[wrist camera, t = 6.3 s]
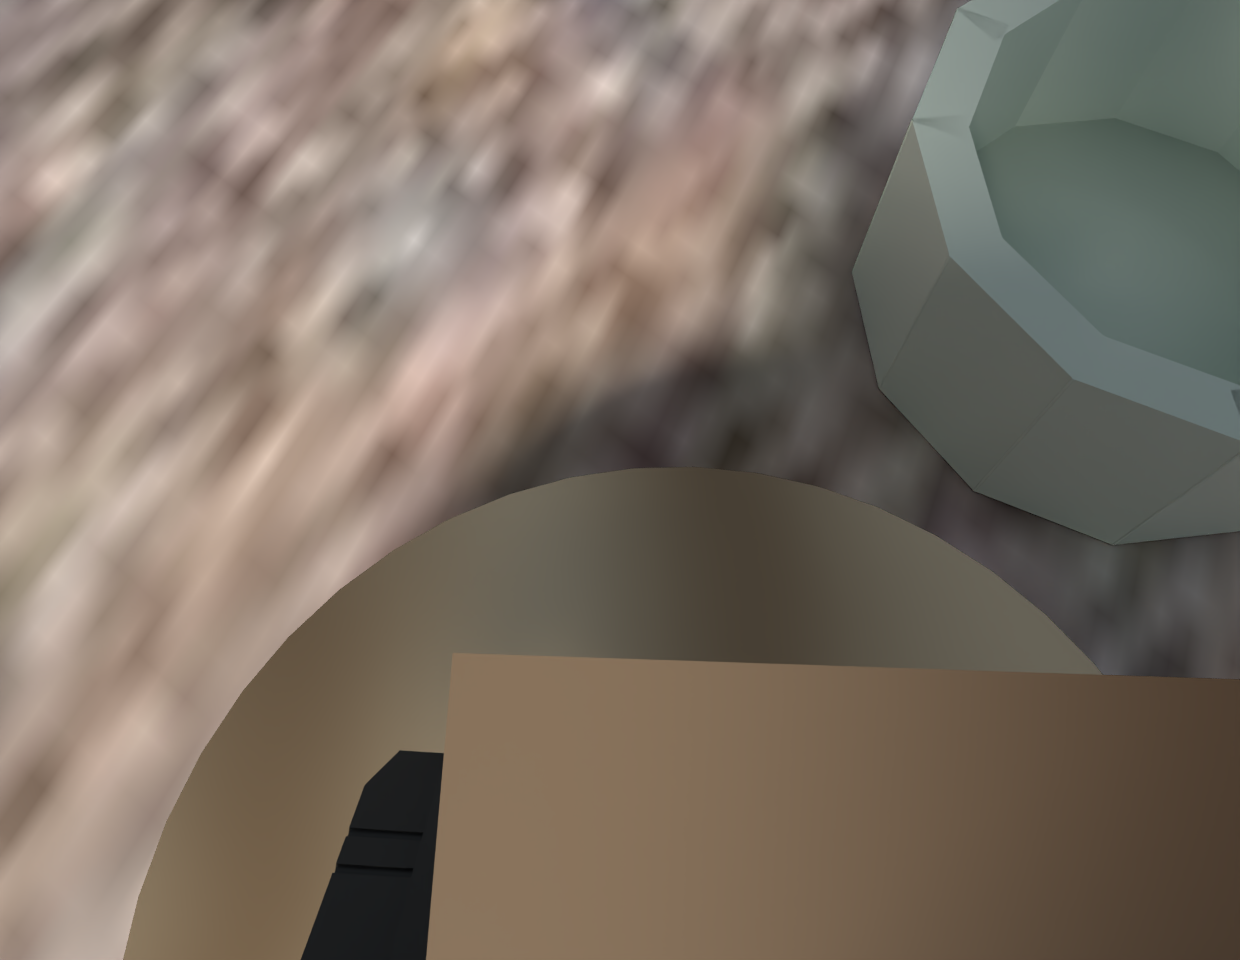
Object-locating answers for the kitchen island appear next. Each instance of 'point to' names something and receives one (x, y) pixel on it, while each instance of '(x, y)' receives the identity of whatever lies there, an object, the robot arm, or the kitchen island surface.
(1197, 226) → the bowl
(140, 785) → the kitchen island surface
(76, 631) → the kitchen island surface
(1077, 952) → the lid
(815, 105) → the kitchen island surface
